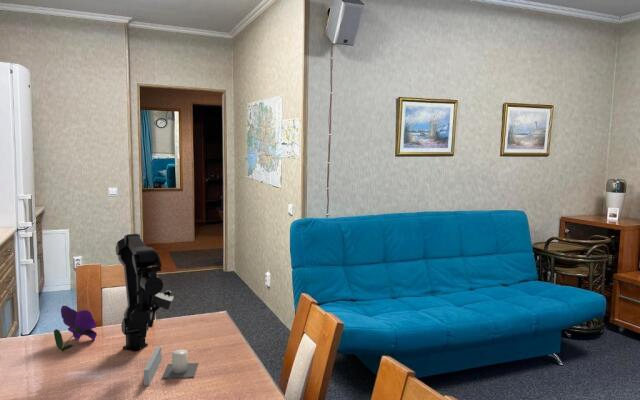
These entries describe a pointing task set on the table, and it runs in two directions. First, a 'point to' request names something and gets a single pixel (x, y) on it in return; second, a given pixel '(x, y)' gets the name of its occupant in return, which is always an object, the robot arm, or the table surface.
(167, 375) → the mat
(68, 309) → the flower
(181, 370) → the cream rounded cone
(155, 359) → the wall
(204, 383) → the table surface
